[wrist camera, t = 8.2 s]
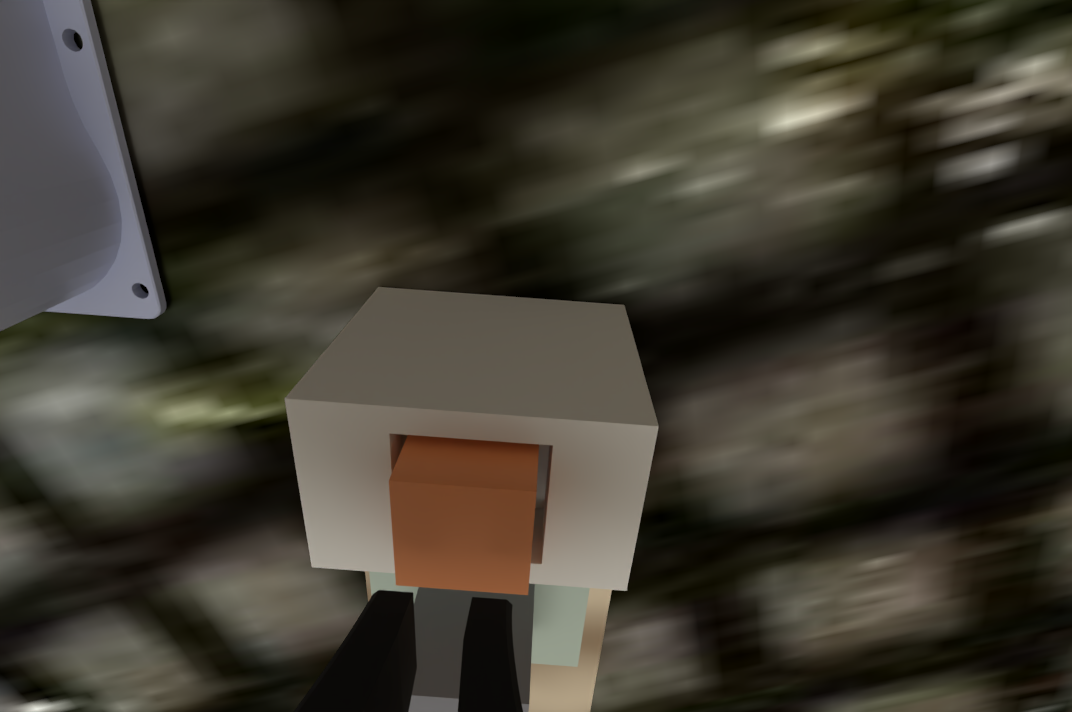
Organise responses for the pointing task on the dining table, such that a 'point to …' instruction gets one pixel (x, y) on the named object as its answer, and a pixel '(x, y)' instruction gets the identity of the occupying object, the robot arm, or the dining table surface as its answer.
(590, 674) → the rail bed
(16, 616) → the dining table surface
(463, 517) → the button
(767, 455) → the dining table surface
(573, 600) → the carriage
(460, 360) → the end cabinet
